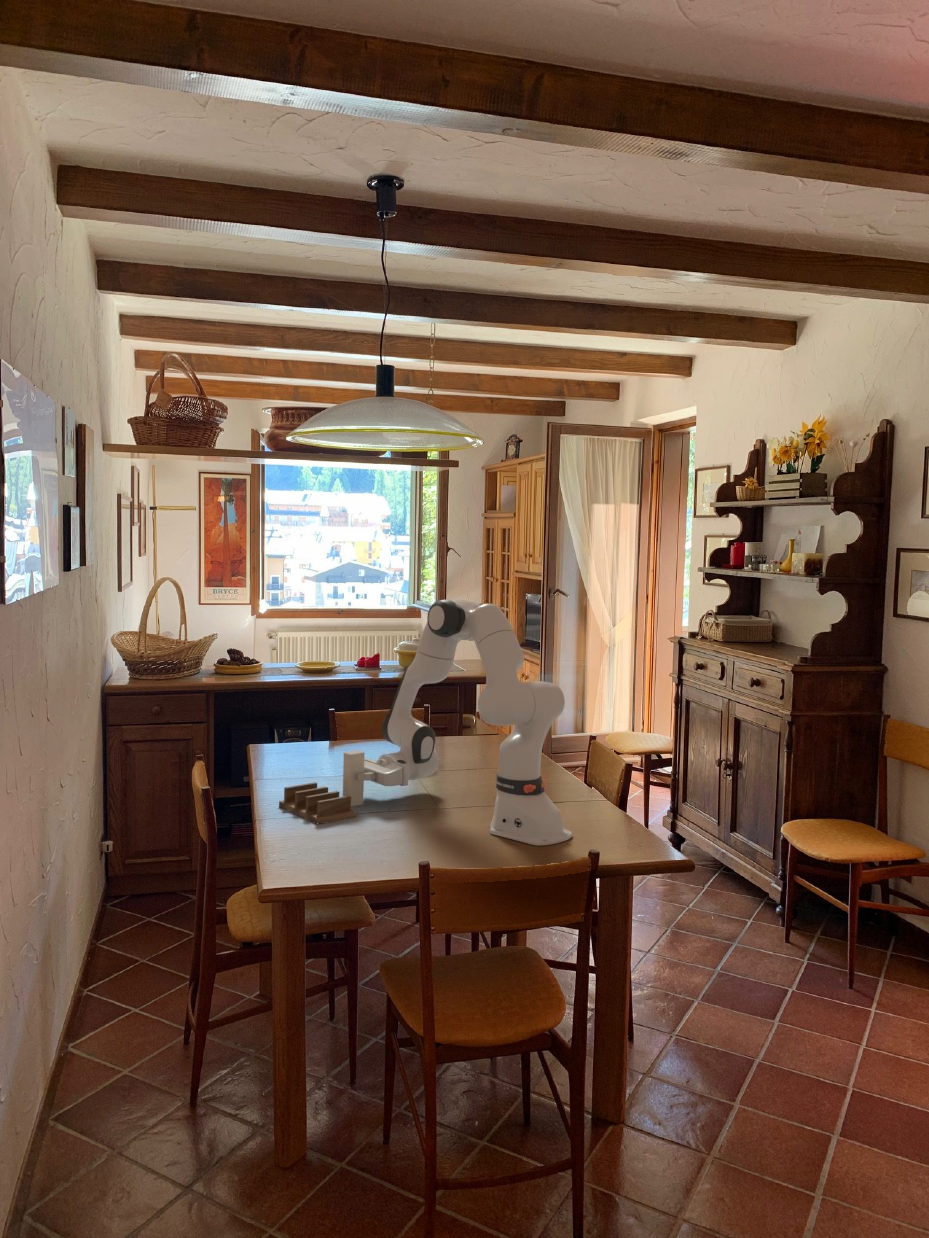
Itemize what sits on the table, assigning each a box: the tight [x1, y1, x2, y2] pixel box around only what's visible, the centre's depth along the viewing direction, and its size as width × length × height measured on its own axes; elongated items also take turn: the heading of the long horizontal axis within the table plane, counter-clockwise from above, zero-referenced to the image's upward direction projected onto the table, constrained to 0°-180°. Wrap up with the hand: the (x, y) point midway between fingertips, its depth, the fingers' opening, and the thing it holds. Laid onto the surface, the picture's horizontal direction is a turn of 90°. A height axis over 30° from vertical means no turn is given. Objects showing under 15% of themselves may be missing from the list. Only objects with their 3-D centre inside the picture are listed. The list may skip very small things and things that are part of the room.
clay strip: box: [342, 749, 365, 807], centre depth 262 cm, size 3×5×15 cm, turn 131°
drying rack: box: [278, 781, 357, 824], centre depth 254 cm, size 20×12×6 cm, turn 42°
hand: (351, 775), depth 261 cm, fingers open, 4 cm apart
